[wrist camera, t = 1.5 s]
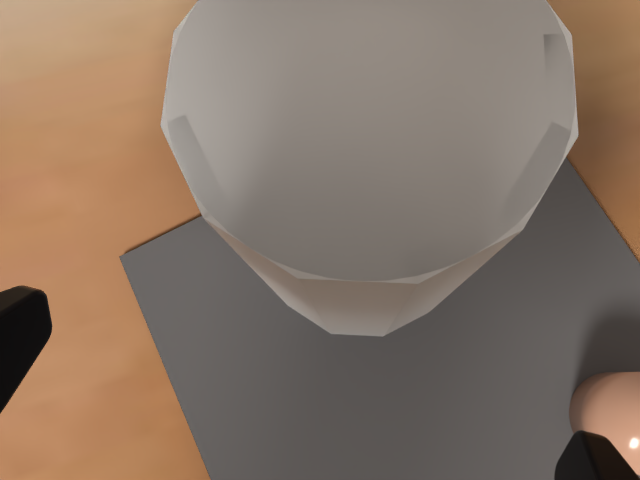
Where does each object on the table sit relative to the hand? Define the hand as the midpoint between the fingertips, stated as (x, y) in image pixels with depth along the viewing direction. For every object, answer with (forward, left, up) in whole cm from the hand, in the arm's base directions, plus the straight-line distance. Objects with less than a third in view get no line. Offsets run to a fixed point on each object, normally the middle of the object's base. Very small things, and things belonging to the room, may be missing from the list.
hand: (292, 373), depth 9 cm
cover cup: (+4, -3, -12) cm, 13 cm away
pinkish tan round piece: (-6, -8, -12) cm, 16 cm away
